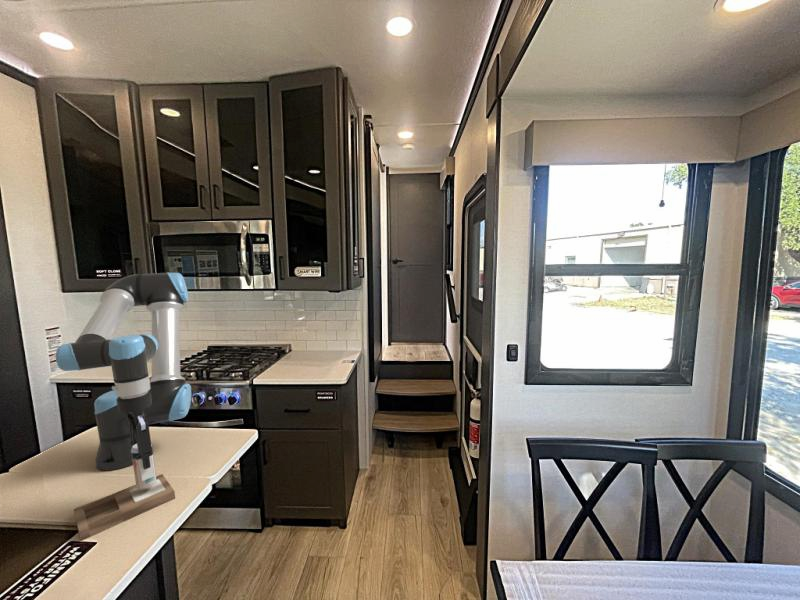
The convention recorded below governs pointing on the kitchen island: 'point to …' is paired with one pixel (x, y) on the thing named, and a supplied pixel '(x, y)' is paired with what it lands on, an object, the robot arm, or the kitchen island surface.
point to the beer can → (139, 482)
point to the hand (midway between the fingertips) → (145, 474)
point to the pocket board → (122, 506)
